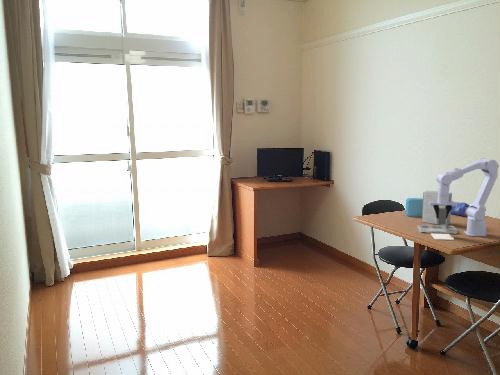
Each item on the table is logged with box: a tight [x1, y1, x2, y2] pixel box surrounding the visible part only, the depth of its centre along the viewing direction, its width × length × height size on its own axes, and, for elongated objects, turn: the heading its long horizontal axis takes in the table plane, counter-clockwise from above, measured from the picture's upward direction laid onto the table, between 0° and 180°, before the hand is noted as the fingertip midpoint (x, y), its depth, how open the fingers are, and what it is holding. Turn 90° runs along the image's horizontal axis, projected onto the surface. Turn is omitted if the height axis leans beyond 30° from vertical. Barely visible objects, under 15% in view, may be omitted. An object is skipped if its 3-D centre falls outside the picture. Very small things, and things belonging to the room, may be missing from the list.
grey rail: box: [417, 224, 458, 235], centre depth 245 cm, size 20×8×3 cm, turn 80°
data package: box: [405, 197, 423, 218], centre depth 280 cm, size 12×4×12 cm, turn 90°
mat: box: [430, 233, 455, 241], centre depth 233 cm, size 10×10×1 cm
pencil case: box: [451, 200, 470, 217], centre depth 284 cm, size 22×9×10 cm, turn 30°
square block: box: [436, 208, 447, 226], centre depth 235 cm, size 4×4×9 cm
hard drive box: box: [421, 190, 453, 226], centre depth 261 cm, size 16×8×20 cm, turn 47°
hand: (441, 218), depth 235 cm, fingers closed on square block, 4 cm apart
